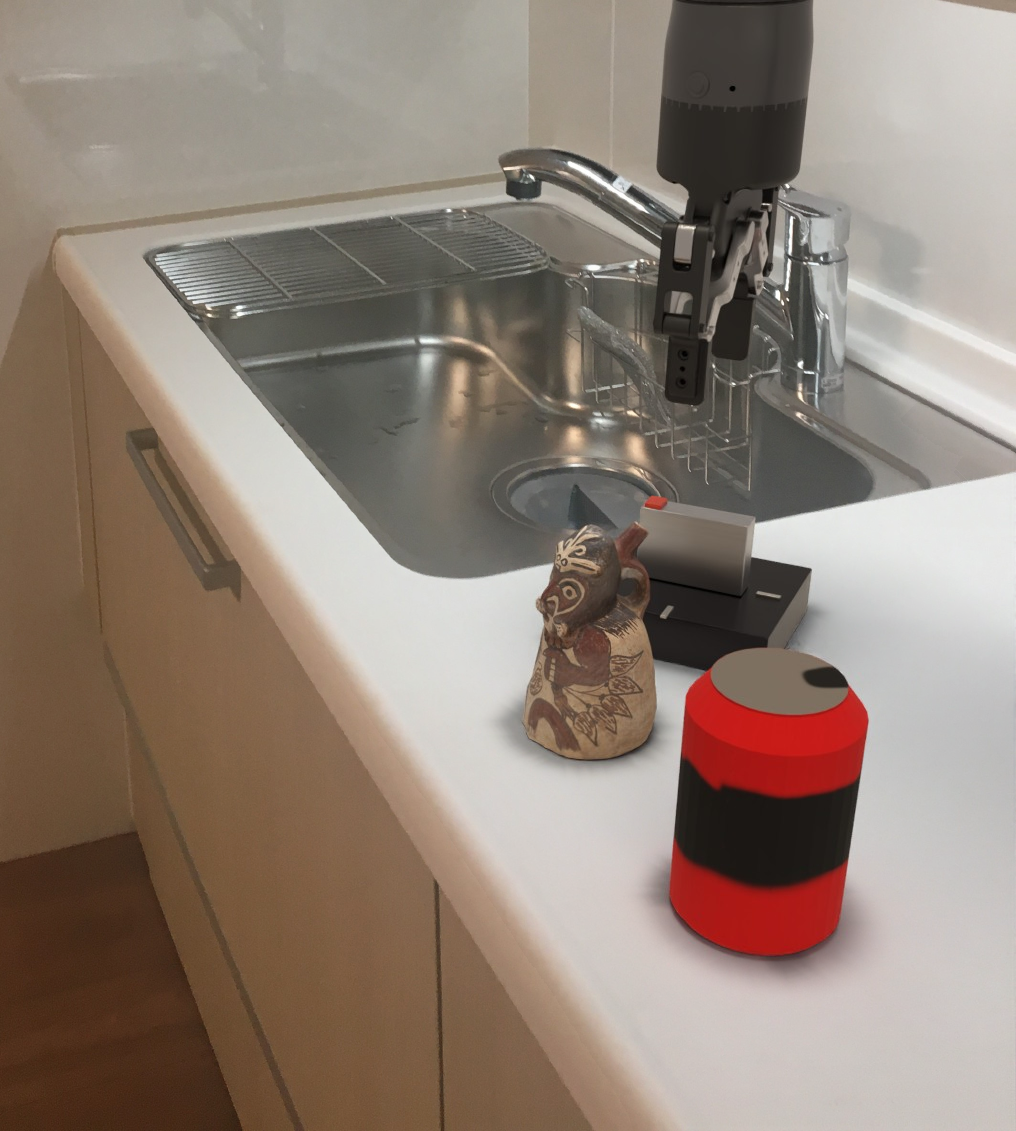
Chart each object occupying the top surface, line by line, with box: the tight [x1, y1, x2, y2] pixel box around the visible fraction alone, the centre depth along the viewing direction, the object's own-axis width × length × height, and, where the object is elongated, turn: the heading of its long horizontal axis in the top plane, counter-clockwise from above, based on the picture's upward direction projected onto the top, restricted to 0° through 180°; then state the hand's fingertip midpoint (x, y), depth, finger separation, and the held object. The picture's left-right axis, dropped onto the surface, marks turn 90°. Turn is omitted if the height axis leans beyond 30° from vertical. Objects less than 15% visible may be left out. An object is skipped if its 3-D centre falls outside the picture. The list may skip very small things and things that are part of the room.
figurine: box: [521, 521, 658, 760], centre depth 83 cm, size 7×7×12 cm
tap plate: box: [617, 548, 813, 671], centre depth 95 cm, size 12×11×3 cm
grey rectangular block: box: [637, 495, 756, 596], centre depth 93 cm, size 6×2×5 cm, turn 59°
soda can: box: [668, 648, 870, 957], centre depth 68 cm, size 8×8×12 cm
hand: (708, 378), depth 89 cm, fingers open, 8 cm apart
